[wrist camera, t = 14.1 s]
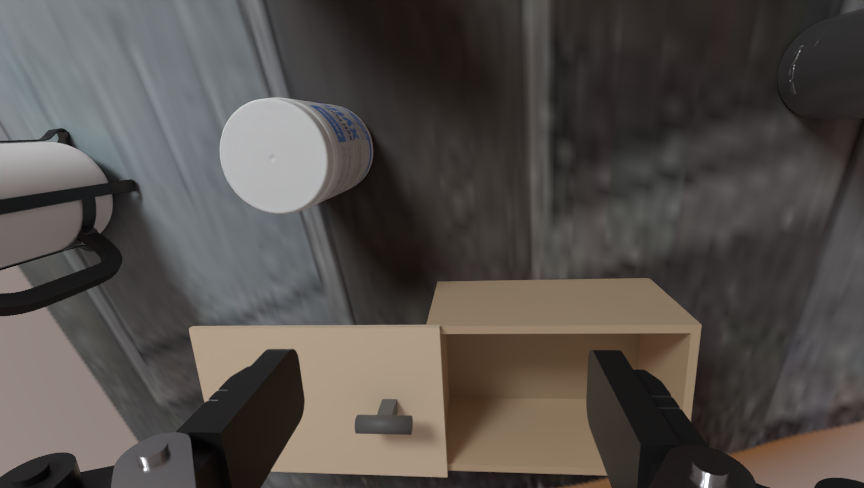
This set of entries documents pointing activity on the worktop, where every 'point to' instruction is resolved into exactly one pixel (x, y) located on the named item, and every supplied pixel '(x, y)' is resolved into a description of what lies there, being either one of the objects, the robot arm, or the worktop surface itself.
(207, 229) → the worktop surface
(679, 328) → the carton
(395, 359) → the carton lid
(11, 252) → the coffee press
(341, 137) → the supplement tub
